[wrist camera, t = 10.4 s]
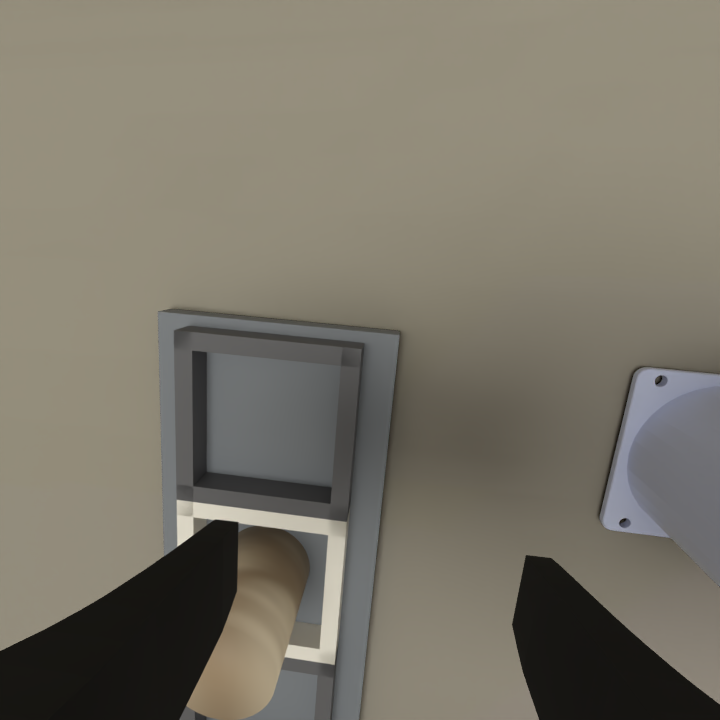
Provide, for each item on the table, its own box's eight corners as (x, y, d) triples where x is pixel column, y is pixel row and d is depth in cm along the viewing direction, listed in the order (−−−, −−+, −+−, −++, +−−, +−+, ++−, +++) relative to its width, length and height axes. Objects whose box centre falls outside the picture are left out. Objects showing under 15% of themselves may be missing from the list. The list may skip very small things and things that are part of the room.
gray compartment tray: (399, 330, 20) (399, 340, 17) (355, 743, 25) (351, 796, 23) (171, 308, 20) (139, 315, 18) (179, 713, 26) (155, 762, 24)
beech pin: (312, 531, 21) (278, 634, 15) (306, 606, 22) (273, 728, 16) (226, 519, 21) (161, 615, 15) (224, 593, 22) (162, 709, 16)
